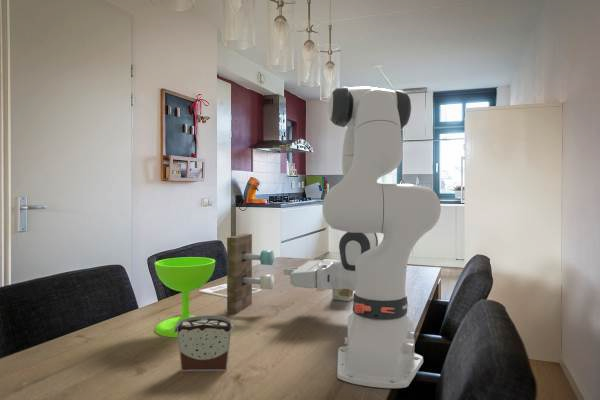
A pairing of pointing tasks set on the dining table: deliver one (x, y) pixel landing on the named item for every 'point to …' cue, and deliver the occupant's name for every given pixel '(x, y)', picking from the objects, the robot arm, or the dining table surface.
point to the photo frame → (220, 288)
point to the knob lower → (261, 281)
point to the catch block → (238, 273)
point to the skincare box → (342, 294)
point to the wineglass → (182, 284)
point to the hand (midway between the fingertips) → (285, 270)
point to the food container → (204, 342)
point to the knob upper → (261, 257)
